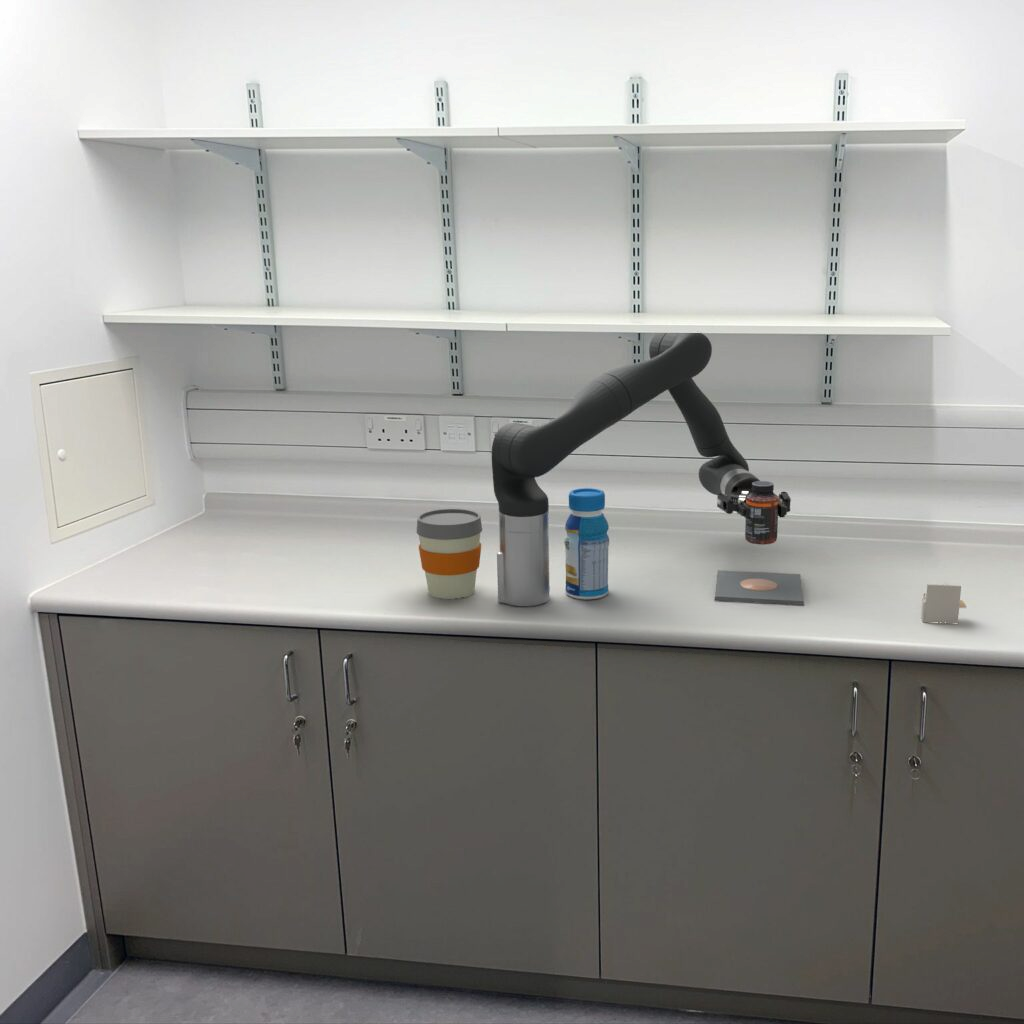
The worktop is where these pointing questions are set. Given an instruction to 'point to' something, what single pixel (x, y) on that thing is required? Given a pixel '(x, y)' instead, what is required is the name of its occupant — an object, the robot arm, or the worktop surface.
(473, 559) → the reusable coffee cup
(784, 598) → the mat
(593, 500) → the beverage bottle
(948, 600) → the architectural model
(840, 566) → the worktop surface
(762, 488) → the supplement bottle
